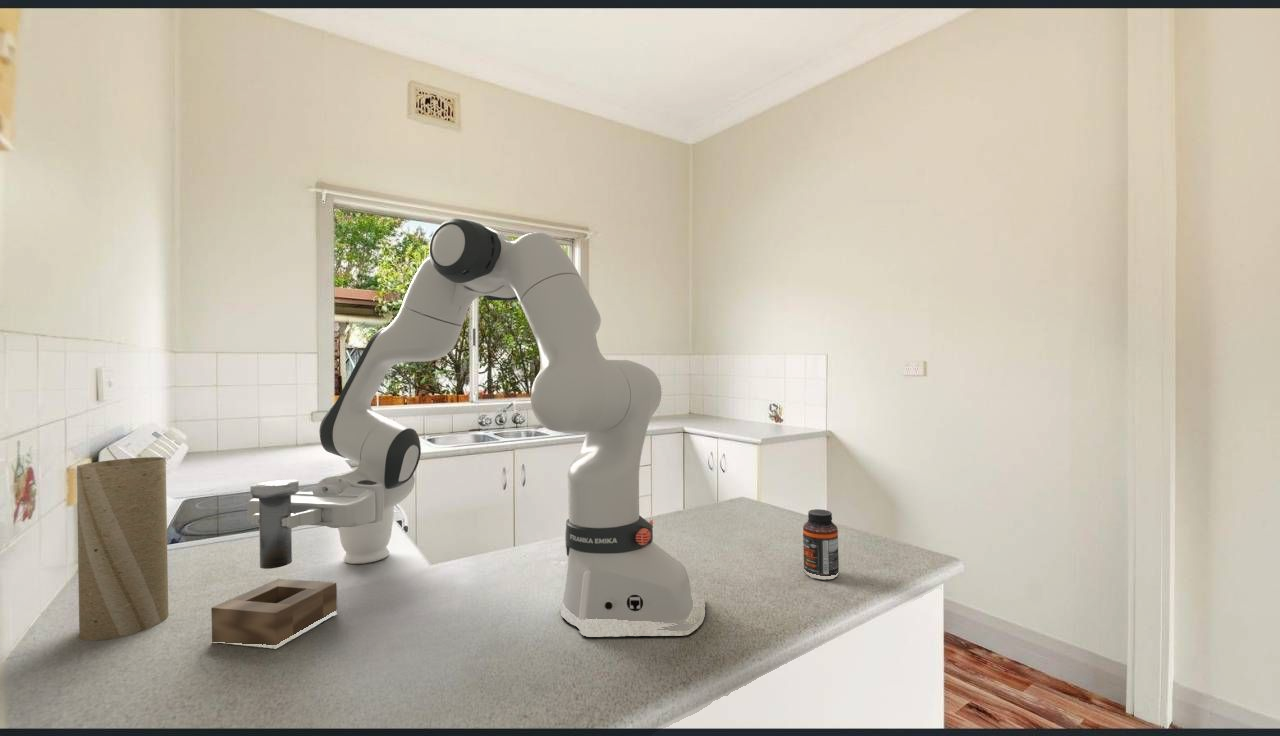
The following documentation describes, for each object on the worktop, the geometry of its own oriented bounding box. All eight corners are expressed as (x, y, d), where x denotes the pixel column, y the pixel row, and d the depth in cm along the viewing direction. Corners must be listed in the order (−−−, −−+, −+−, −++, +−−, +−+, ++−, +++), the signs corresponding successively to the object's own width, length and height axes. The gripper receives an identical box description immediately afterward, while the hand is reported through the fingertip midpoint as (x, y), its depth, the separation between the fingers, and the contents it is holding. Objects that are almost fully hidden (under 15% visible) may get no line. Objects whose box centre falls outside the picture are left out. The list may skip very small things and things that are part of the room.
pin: (309, 558, 84) (308, 480, 84) (275, 572, 79) (274, 488, 79) (276, 556, 86) (275, 479, 86) (241, 569, 80) (239, 487, 80)
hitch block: (337, 614, 86) (336, 582, 86) (276, 649, 75) (275, 613, 75) (278, 609, 88) (278, 578, 88) (212, 643, 78) (211, 607, 78)
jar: (404, 550, 118) (402, 480, 118) (376, 567, 107) (375, 490, 108) (357, 549, 119) (356, 480, 119) (325, 566, 108) (324, 490, 109)
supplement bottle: (796, 572, 99) (795, 510, 99) (822, 567, 101) (820, 506, 102) (820, 584, 94) (818, 517, 94) (846, 577, 96) (844, 513, 96)
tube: (102, 617, 87) (99, 460, 87) (179, 606, 91) (177, 455, 91) (62, 646, 78) (59, 470, 78) (150, 632, 81) (147, 464, 82)
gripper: (289, 480, 97) (213, 498, 84) (391, 483, 93) (327, 503, 79) (290, 515, 97) (213, 539, 83) (391, 520, 93) (328, 547, 79)
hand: (270, 522), depth 81 cm, fingers closed on pin, 4 cm apart
